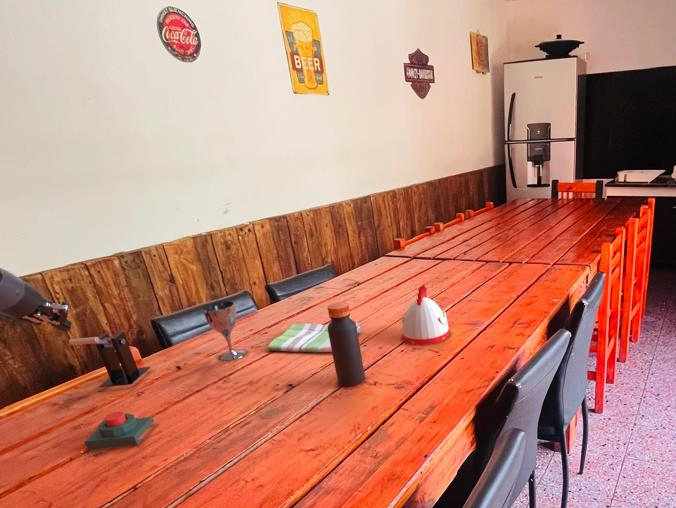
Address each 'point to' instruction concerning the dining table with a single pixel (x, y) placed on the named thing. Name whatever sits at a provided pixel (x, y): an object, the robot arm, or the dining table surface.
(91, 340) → the lever handle
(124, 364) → the black lever stand
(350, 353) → the bottle
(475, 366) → the dining table surface
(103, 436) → the button housing
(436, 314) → the kitchen timer
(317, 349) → the dish towel
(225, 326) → the silver goblet
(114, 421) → the button
